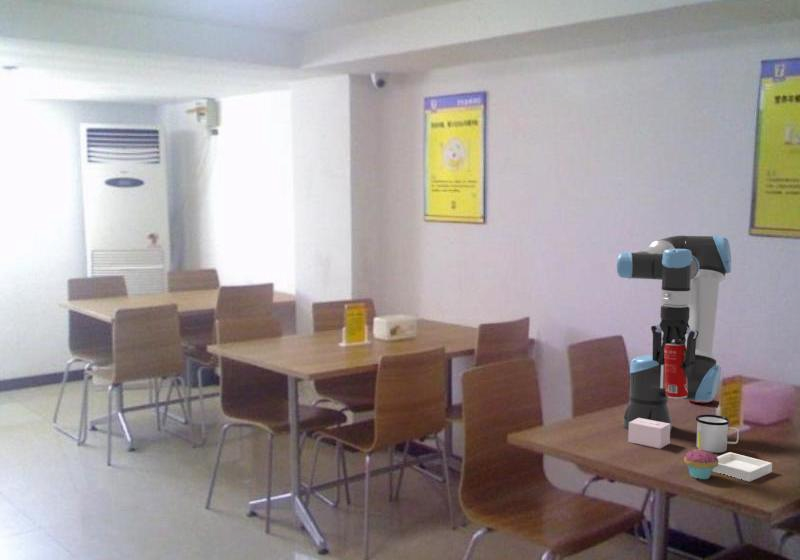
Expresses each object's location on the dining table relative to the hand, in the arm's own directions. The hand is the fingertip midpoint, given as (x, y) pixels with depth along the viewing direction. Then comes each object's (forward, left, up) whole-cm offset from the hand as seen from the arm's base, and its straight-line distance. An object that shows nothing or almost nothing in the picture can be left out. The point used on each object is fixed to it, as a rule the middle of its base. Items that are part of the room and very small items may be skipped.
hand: (672, 389), depth 221 cm
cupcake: (+12, -4, -21) cm, 24 cm away
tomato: (-31, +68, -21) cm, 78 cm away
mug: (+2, +21, -21) cm, 30 cm away
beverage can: (+1, 0, -2) cm, 2 cm away
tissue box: (-14, +11, -21) cm, 27 cm away
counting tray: (+16, +8, -21) cm, 27 cm away
